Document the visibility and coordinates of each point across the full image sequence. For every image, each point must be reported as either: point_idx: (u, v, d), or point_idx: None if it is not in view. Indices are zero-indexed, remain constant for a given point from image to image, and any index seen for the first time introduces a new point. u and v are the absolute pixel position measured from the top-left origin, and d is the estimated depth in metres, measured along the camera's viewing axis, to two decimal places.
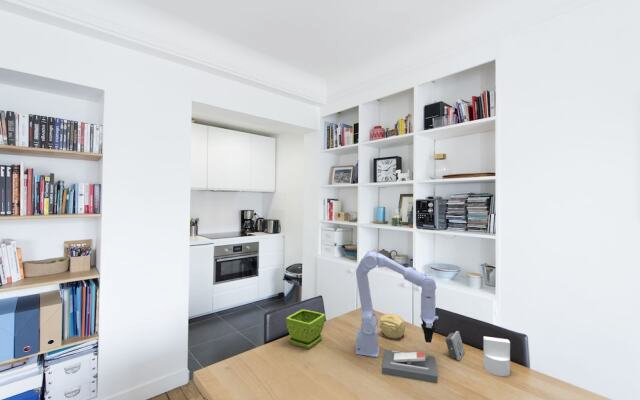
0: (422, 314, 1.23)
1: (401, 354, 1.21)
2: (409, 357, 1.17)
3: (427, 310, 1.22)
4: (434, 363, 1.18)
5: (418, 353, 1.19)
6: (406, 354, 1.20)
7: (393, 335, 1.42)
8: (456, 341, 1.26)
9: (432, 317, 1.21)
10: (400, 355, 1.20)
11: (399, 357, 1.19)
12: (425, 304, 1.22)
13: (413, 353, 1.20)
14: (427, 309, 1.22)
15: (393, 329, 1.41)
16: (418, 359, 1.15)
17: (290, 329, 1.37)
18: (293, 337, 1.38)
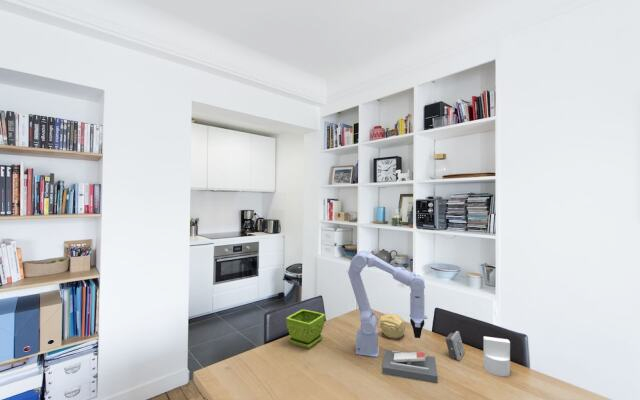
0: (411, 314, 1.24)
1: (401, 354, 1.21)
2: (409, 357, 1.17)
3: (416, 309, 1.22)
4: (434, 363, 1.18)
5: (418, 353, 1.19)
6: (406, 354, 1.20)
7: (393, 335, 1.42)
8: (456, 341, 1.26)
9: (421, 317, 1.22)
10: (400, 355, 1.20)
11: (399, 357, 1.19)
12: (414, 304, 1.23)
13: (413, 353, 1.20)
14: (416, 309, 1.22)
15: (393, 329, 1.41)
16: (418, 359, 1.15)
17: (290, 329, 1.37)
18: (293, 337, 1.38)
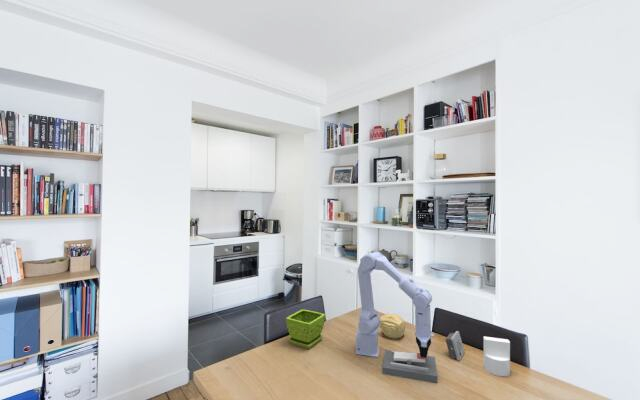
0: (417, 332, 1.16)
1: (401, 353, 1.21)
2: (409, 357, 1.17)
3: (421, 327, 1.15)
4: (434, 363, 1.18)
5: (418, 354, 1.19)
6: (406, 354, 1.20)
7: (393, 335, 1.42)
8: (456, 341, 1.26)
9: (427, 335, 1.14)
10: (400, 354, 1.20)
11: (399, 356, 1.19)
12: (417, 320, 1.16)
13: (413, 353, 1.20)
14: (422, 327, 1.15)
15: (393, 329, 1.41)
16: (418, 360, 1.15)
17: (290, 329, 1.37)
18: (293, 337, 1.38)
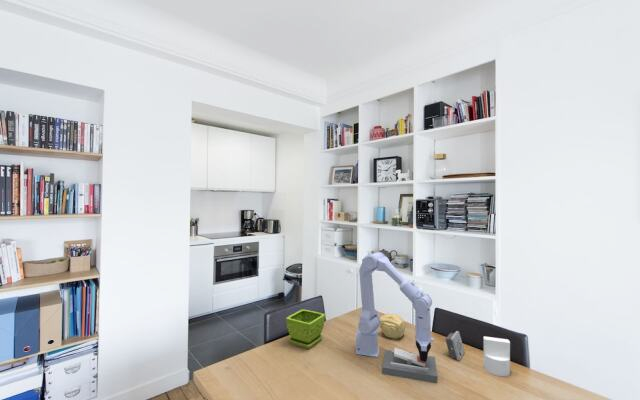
0: (417, 336, 1.16)
1: (402, 351, 1.21)
2: (410, 357, 1.17)
3: (421, 331, 1.15)
4: (434, 363, 1.18)
5: (419, 357, 1.19)
6: (407, 353, 1.20)
7: (393, 335, 1.42)
8: (456, 341, 1.26)
9: (427, 339, 1.14)
10: (401, 351, 1.20)
11: (400, 353, 1.19)
12: (417, 324, 1.16)
13: (413, 355, 1.20)
14: (422, 330, 1.15)
15: (393, 329, 1.41)
16: (418, 363, 1.15)
17: (290, 329, 1.37)
18: (293, 337, 1.38)
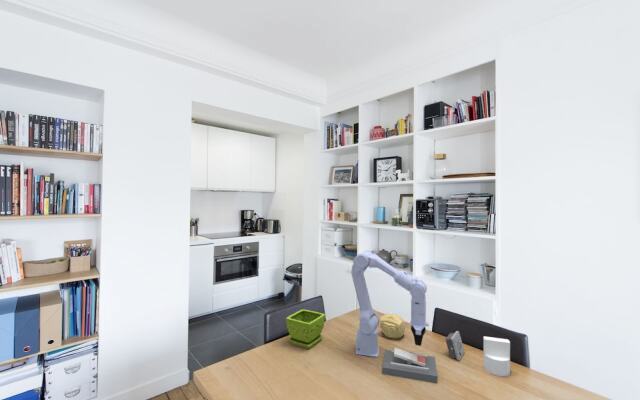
0: (412, 320, 1.20)
1: (402, 351, 1.21)
2: (410, 357, 1.17)
3: (417, 316, 1.19)
4: (434, 363, 1.18)
5: (419, 357, 1.19)
6: (407, 353, 1.20)
7: (393, 335, 1.42)
8: (456, 341, 1.26)
9: (422, 324, 1.19)
10: (401, 351, 1.20)
11: (400, 353, 1.19)
12: (414, 310, 1.20)
13: (413, 355, 1.20)
14: (417, 315, 1.19)
15: (393, 329, 1.41)
16: (418, 363, 1.15)
17: (290, 329, 1.37)
18: (293, 337, 1.38)
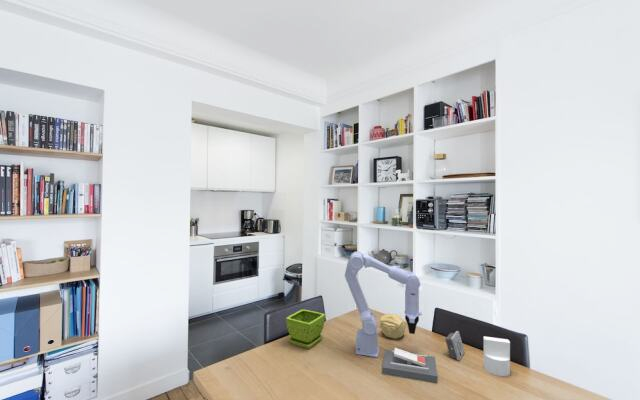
0: (406, 310, 1.28)
1: (402, 351, 1.21)
2: (410, 357, 1.17)
3: (410, 306, 1.26)
4: (434, 363, 1.18)
5: (419, 357, 1.19)
6: (407, 353, 1.20)
7: (393, 335, 1.42)
8: (456, 341, 1.26)
9: (415, 313, 1.26)
10: (401, 351, 1.20)
11: (400, 353, 1.19)
12: (410, 301, 1.26)
13: (413, 355, 1.20)
14: (411, 305, 1.26)
15: (393, 329, 1.41)
16: (418, 363, 1.15)
17: (290, 329, 1.37)
18: (293, 337, 1.38)
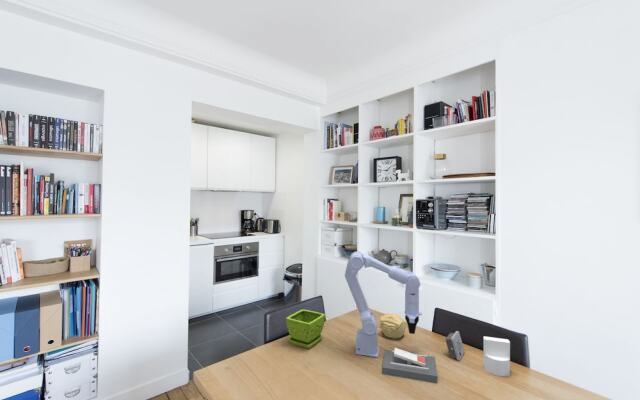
0: (406, 310, 1.28)
1: (402, 351, 1.21)
2: (410, 357, 1.17)
3: (410, 306, 1.26)
4: (434, 363, 1.18)
5: (419, 357, 1.19)
6: (407, 353, 1.20)
7: (393, 335, 1.42)
8: (456, 341, 1.26)
9: (415, 313, 1.26)
10: (401, 351, 1.20)
11: (400, 353, 1.19)
12: (410, 301, 1.26)
13: (413, 355, 1.20)
14: (411, 305, 1.26)
15: (393, 329, 1.41)
16: (418, 363, 1.15)
17: (290, 329, 1.37)
18: (293, 337, 1.38)
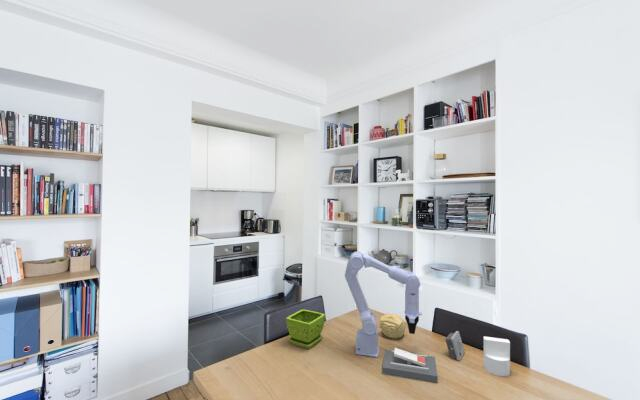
0: (406, 310, 1.28)
1: (402, 351, 1.21)
2: (410, 357, 1.17)
3: (410, 306, 1.26)
4: (434, 363, 1.18)
5: (419, 357, 1.19)
6: (407, 353, 1.20)
7: (393, 335, 1.42)
8: (456, 341, 1.26)
9: (415, 313, 1.26)
10: (401, 351, 1.20)
11: (400, 353, 1.19)
12: (410, 301, 1.26)
13: (413, 355, 1.20)
14: (411, 305, 1.26)
15: (393, 329, 1.41)
16: (418, 363, 1.15)
17: (290, 329, 1.37)
18: (293, 337, 1.38)
